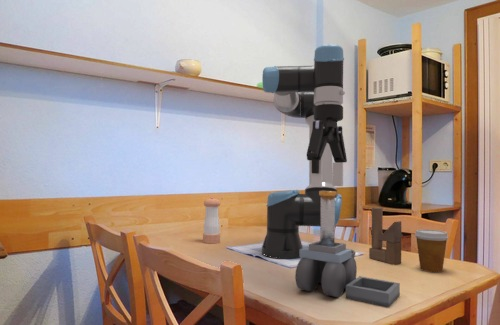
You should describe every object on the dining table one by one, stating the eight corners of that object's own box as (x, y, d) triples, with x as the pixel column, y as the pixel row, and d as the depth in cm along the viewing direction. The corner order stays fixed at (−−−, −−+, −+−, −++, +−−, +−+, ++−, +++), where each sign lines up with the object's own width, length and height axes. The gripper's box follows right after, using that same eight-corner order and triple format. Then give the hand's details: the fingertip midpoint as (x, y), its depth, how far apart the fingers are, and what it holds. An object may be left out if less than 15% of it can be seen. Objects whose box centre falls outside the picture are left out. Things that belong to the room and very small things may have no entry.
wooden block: (394, 265, 122) (394, 210, 123) (368, 258, 131) (369, 207, 132) (401, 263, 124) (401, 209, 125) (375, 257, 133) (376, 206, 134)
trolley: (291, 292, 93) (292, 246, 93) (318, 277, 106) (319, 237, 106) (333, 301, 87) (333, 251, 87) (356, 284, 100) (356, 241, 100)
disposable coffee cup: (450, 269, 118) (450, 231, 118) (446, 275, 110) (446, 235, 110) (417, 264, 123) (417, 228, 124) (411, 270, 115) (412, 231, 116)
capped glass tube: (315, 250, 96) (316, 191, 96) (322, 247, 100) (323, 190, 100) (332, 252, 93) (332, 191, 94) (338, 249, 97) (339, 191, 97)
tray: (345, 298, 89) (345, 285, 89) (359, 287, 97) (359, 276, 97) (388, 307, 83) (388, 293, 84) (399, 295, 92) (399, 283, 92)
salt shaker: (199, 241, 159) (200, 196, 159) (213, 239, 164) (213, 196, 164) (209, 244, 153) (210, 197, 154) (223, 242, 158) (224, 197, 159)
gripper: (321, 95, 85) (321, 188, 84) (358, 111, 105) (358, 186, 105) (292, 98, 89) (292, 187, 89) (333, 113, 110) (333, 185, 109)
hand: (327, 186), depth 97 cm, fingers open, 13 cm apart
